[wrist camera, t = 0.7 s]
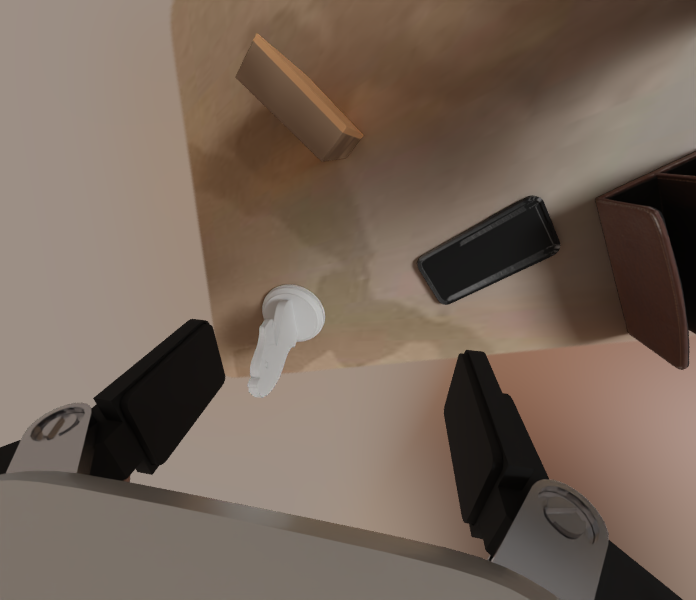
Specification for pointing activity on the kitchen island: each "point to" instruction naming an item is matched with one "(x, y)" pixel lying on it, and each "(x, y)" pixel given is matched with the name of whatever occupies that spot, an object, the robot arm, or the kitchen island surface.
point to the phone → (490, 251)
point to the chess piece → (282, 333)
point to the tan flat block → (297, 102)
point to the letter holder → (655, 256)
